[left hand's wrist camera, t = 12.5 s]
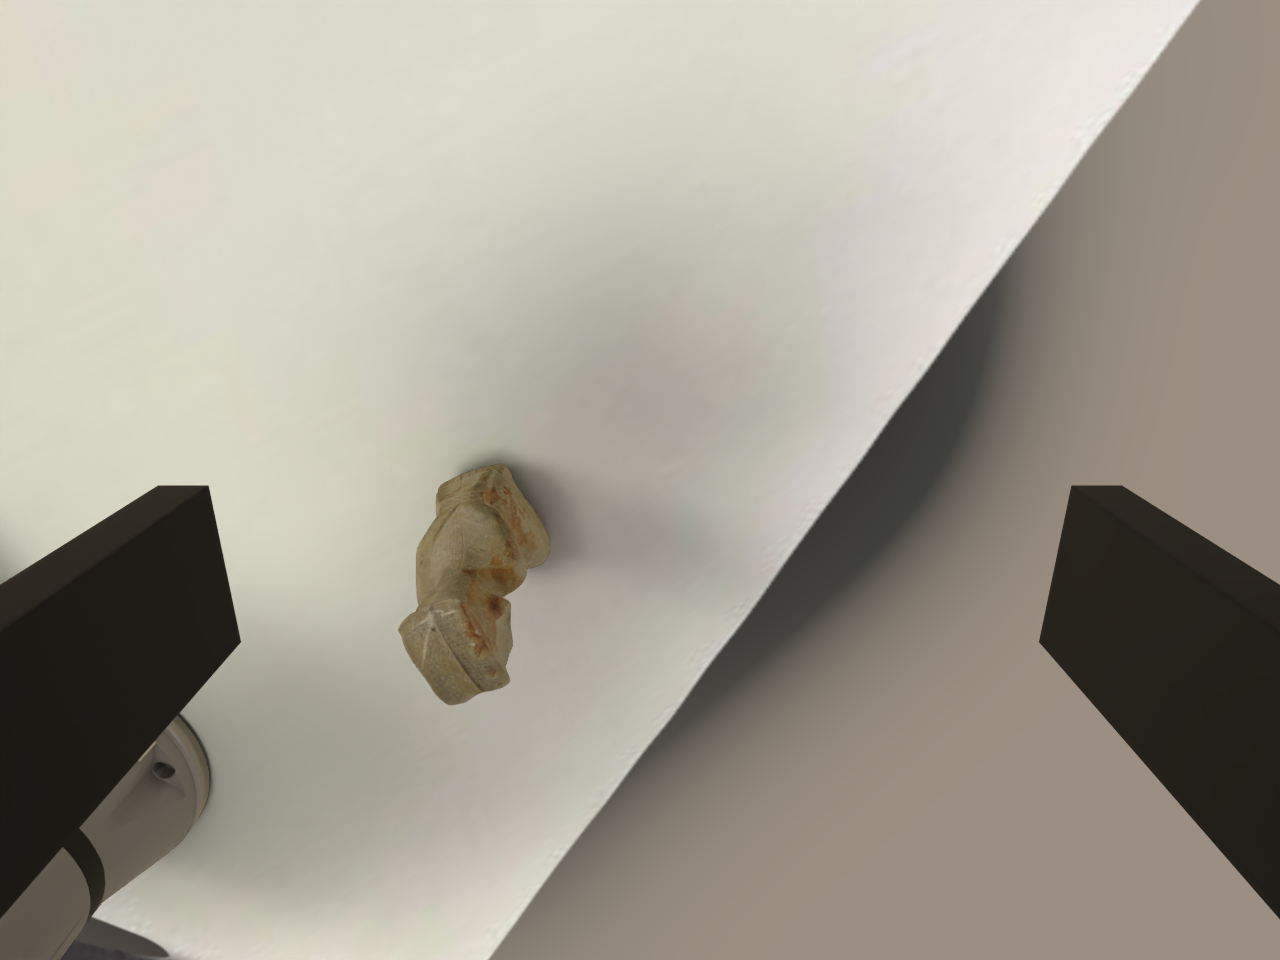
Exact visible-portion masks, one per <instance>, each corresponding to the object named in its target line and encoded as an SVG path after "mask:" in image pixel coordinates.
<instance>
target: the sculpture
mask: <svg viewBox="0 0 1280 960" xmlns="http://www.w3.org/2000/svg"><path fill="white" fill-rule="evenodd" d="M436 515H437V518H436V519H435V520H434V521H433V523H432V524H431V526H430V528H429V529H428V531H427V532H426V534H425V535H424V537H423V539H422V540H421V542H420V543H419V546H418V548H417V553H416V589H417V600H418V604H419V606H418V608H417V610H416V612H414V613H412V614H410V615H409V616H408V617H407V618H406V619H405V620H404V621H403V622H402V624H401V625H400V627H399V633H400V634H401V637H402V640H403V644H404V646H405V649H406V651H407V653H408V655H409V656H410V658H411V660H412V662H413V663H414V664H415V666H416V667H417V668H418V670H419V671H420V672H421V674H422V675H423V676H424V678H425V679H426V680H427V682H428V684H429V685H430V687H431V688H432V690H433V691H434V693H435V694H436V695H437V696H438V697H439V698H440V699H441V700H442V701H443V702H445V703H446V704H448V705H456V704H461V703H465V702H467V701H468V700H470V699H471V698H473V697H474V696H475V695H477V694H479V693H482V692H487V691H492V690H496V689H499V688H502V687H504V686H505V685H507V684H508V683H509V682H510V677H509V675H508V673H507V670H506V667H505V666H506V664H507V661H508V657H509V653H510V651H511V649H512V647H513V639H512V633H511V625H510V622H511V604H510V602H509V601H508V600H506V599H504V598H502V597H504V596H506V595H507V594H509V593H511V592H512V591H514V590H515V589H517V588H518V587H519V586H520V585H521V584H522V583H523V581H524V580H525V577H526V574H527V568H533V567H536V566H539V565H541V564H542V563H544V561H545V560H546V559H547V557H548V555H549V552H550V542H549V537H548V534H547V531H546V529H545V527H544V525H543V523H542V522H541V520H540V518H539V517H538V515H537V514H536V512H535V511H534V509H533V508H532V507H531V505H530V504H529V502H528V501H527V500H526V498H525V497H524V496H523V494H522V493H521V492H520V490H519V489H518V487H517V486H516V484H515V482H514V480H513V478H512V474H511V472H510V470H509V469H508V468H507V467H506V466H505V465H504V464H497V465H493V466H490V467H482V468H479V469H476V470H473V471H470V472H467V473H464V474H462V475H459V476H457V477H455V478H453V479H451V480H449V481H447V482H445V483H444V484H442V485H441V486H440V487H439V489H438V493H437V495H436Z"/></svg>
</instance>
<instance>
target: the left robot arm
mask: <svg viewBox="0 0 1280 960" xmlns="http://www.w3.org/2000/svg"><path fill="white" fill-rule="evenodd" d="M1039 642H1040V644H1041V645H1042V646H1043V647H1044V648H1045V649H1046V651H1047V652H1048V653H1049V654H1050V655H1051V656H1052V657H1053V659H1054V660H1055V661H1056V662H1057V663H1058V664H1059V666H1060V667H1061V668H1062V669H1063V670H1064V671H1065V672H1066V674H1067V675H1068V676H1069V677H1070V678H1071V679H1072V681H1073V682H1074V683H1075V684H1076V685H1077V686H1078V687H1079V689H1080V690H1081V691H1082V692H1083V693H1084V694H1085V695H1086V697H1087V698H1088V699H1089V700H1090V701H1091V702H1092V704H1093V705H1094V706H1095V707H1096V708H1097V709H1098V710H1099V712H1100V713H1101V714H1102V715H1103V716H1104V717H1105V718H1106V720H1107V721H1108V722H1109V723H1110V724H1111V725H1112V726H1113V728H1114V729H1115V730H1116V731H1117V732H1118V733H1119V735H1120V736H1121V737H1122V738H1123V739H1124V740H1125V742H1126V743H1127V744H1128V745H1129V746H1130V747H1131V748H1132V750H1133V751H1134V752H1135V753H1136V754H1137V755H1138V756H1139V758H1140V759H1141V760H1142V761H1143V762H1144V763H1145V765H1146V766H1147V767H1148V768H1149V769H1150V770H1151V771H1152V773H1153V774H1154V775H1155V776H1156V777H1157V778H1158V779H1159V781H1160V782H1161V783H1162V784H1163V785H1164V786H1165V787H1166V789H1167V790H1168V791H1169V792H1170V793H1171V794H1172V796H1173V797H1174V798H1175V799H1176V800H1177V801H1178V802H1179V804H1180V805H1181V806H1182V807H1183V808H1184V809H1185V811H1186V812H1187V813H1188V814H1189V815H1190V816H1191V817H1192V819H1193V820H1194V821H1195V822H1196V823H1197V824H1198V825H1199V827H1200V828H1201V829H1202V830H1203V831H1204V832H1205V834H1206V835H1207V836H1208V837H1209V838H1210V839H1211V840H1212V842H1213V843H1214V844H1215V845H1216V846H1217V847H1218V848H1219V850H1220V851H1221V852H1222V853H1223V854H1224V855H1225V857H1226V858H1227V859H1228V860H1229V861H1230V862H1231V864H1232V865H1233V866H1234V867H1235V868H1236V869H1237V870H1238V872H1239V873H1240V874H1241V875H1242V876H1243V877H1244V878H1245V880H1246V881H1247V882H1248V883H1249V884H1250V885H1251V886H1252V888H1253V889H1254V890H1255V891H1256V892H1257V893H1258V895H1259V896H1260V897H1261V898H1262V899H1263V900H1264V901H1265V903H1266V904H1267V905H1268V906H1269V907H1270V908H1271V910H1272V911H1273V912H1274V913H1275V914H1276V915H1277V916H1278V918H1279V919H1280V585H1279V584H1278V583H1276V582H1274V581H1273V580H1271V579H1270V578H1268V577H1266V576H1265V575H1263V574H1262V573H1260V572H1259V571H1257V570H1255V569H1254V568H1252V567H1251V566H1249V565H1247V564H1246V563H1244V562H1243V561H1241V560H1239V559H1238V558H1236V557H1235V556H1233V555H1231V554H1230V553H1228V552H1227V551H1225V550H1224V549H1222V548H1220V547H1219V546H1217V545H1216V544H1214V543H1212V542H1211V541H1209V540H1208V539H1206V538H1204V537H1203V536H1201V535H1200V534H1198V533H1196V532H1195V531H1193V530H1192V529H1190V528H1189V527H1187V526H1185V525H1184V524H1182V523H1181V522H1179V521H1177V520H1176V519H1174V518H1173V517H1171V516H1169V515H1168V514H1166V513H1165V512H1163V511H1161V510H1160V509H1158V508H1157V507H1155V506H1154V505H1152V504H1150V503H1149V502H1147V501H1146V500H1144V499H1142V498H1141V497H1139V496H1138V495H1136V494H1134V493H1133V492H1131V491H1130V490H1128V489H1126V488H1125V487H1123V486H1071V490H1070V495H1069V500H1068V505H1067V510H1066V515H1065V519H1064V524H1063V529H1062V534H1061V539H1060V543H1059V548H1058V553H1057V558H1056V563H1055V568H1054V572H1053V577H1052V582H1051V587H1050V592H1049V597H1048V601H1047V606H1046V611H1045V616H1044V621H1043V626H1042V631H1041V635H1040V640H1039ZM240 643H241V640H240V635H239V630H238V626H237V621H236V616H235V611H234V606H233V601H232V597H231V592H230V587H229V582H228V577H227V572H226V568H225V563H224V558H223V553H222V548H221V544H220V539H219V534H218V529H217V524H216V519H215V515H214V510H213V505H212V500H211V495H210V490H209V486H157V487H155V488H154V489H152V490H150V491H149V492H147V493H146V494H144V495H142V496H141V497H139V498H138V499H136V500H134V501H133V502H131V503H130V504H128V505H126V506H125V507H123V508H122V509H120V510H119V511H117V512H115V513H114V514H112V515H111V516H109V517H107V518H106V519H104V520H103V521H101V522H99V523H98V524H96V525H95V526H93V527H91V528H90V529H88V530H87V531H85V532H84V533H82V534H80V535H79V536H77V537H76V538H74V539H72V540H71V541H69V542H68V543H66V544H64V545H63V546H61V547H60V548H58V549H56V550H55V551H53V552H52V553H50V554H49V555H47V556H45V557H44V558H42V559H41V560H39V561H37V562H36V563H34V564H33V565H31V566H29V567H28V568H26V569H25V570H23V571H21V572H20V573H18V574H17V575H15V576H14V577H12V578H10V579H9V580H7V581H6V582H4V583H2V584H1V585H0V960H60V959H61V957H62V956H63V954H64V953H65V952H66V950H67V949H68V948H69V946H70V945H71V944H72V942H73V941H74V940H75V938H76V937H77V935H78V934H79V933H80V931H81V930H82V928H83V927H84V926H85V924H86V923H87V922H88V920H89V919H90V918H91V916H92V915H93V914H94V912H95V911H96V910H97V908H98V907H99V906H100V905H101V903H102V902H103V901H105V900H106V899H107V898H109V897H110V896H111V895H113V894H114V893H116V892H117V891H118V890H120V889H121V888H122V887H124V886H125V885H126V884H128V883H129V882H130V881H132V880H133V879H134V878H136V877H137V876H138V875H140V874H141V873H142V872H144V871H145V870H146V869H148V868H149V867H150V866H152V865H153V864H154V863H156V862H157V861H158V860H160V859H161V858H162V857H164V856H165V855H166V854H167V853H169V852H170V851H171V850H172V849H173V848H174V847H176V846H177V845H178V844H179V843H180V842H181V841H182V840H183V838H184V837H185V836H186V835H187V833H188V832H189V830H190V829H191V827H192V826H193V825H194V823H195V822H196V820H197V819H198V817H199V816H200V814H201V813H202V811H203V809H204V807H205V804H206V802H207V798H208V794H209V786H210V781H209V770H208V765H207V761H206V758H205V755H204V753H203V750H202V748H201V746H200V744H199V742H198V741H197V739H196V738H195V736H194V734H193V733H192V732H191V730H190V729H189V728H188V726H187V725H186V724H185V723H184V722H183V721H182V720H181V718H180V717H179V716H178V714H179V713H180V712H181V710H182V709H183V708H184V707H185V706H186V705H187V704H188V702H189V701H190V700H191V699H192V698H193V697H194V695H195V694H196V693H197V692H198V691H199V690H200V689H201V687H202V686H203V685H204V684H205V683H206V682H207V681H208V679H209V678H210V677H211V676H212V675H213V674H214V672H215V671H216V670H217V669H218V668H219V667H220V666H221V664H222V663H223V662H224V661H225V660H226V659H227V657H228V656H229V655H230V654H231V653H232V652H233V651H234V649H235V648H236V647H237V646H238V645H239V644H240Z"/></svg>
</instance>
